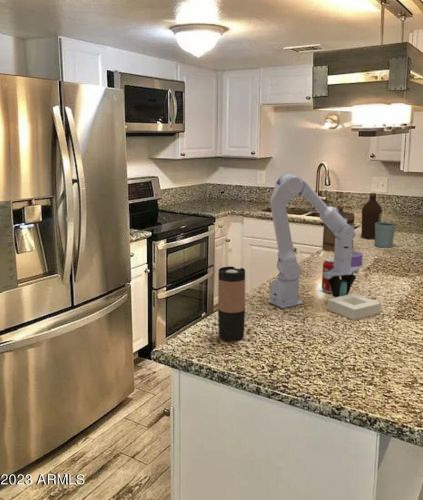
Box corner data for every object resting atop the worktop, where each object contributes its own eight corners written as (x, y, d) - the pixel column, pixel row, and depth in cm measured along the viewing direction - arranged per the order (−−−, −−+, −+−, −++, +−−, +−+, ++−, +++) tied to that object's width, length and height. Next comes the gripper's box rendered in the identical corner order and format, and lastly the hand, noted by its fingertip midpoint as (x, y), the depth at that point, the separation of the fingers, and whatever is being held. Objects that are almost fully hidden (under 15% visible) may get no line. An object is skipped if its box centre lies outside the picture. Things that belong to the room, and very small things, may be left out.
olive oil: (360, 239, 279) (363, 194, 273) (359, 235, 289) (362, 192, 283) (380, 240, 276) (383, 194, 271) (379, 236, 286) (382, 192, 281)
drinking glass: (370, 244, 265) (371, 222, 262) (387, 244, 267) (389, 221, 264) (379, 248, 255) (381, 225, 253) (397, 248, 257) (399, 225, 254)
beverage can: (326, 287, 191) (328, 257, 189) (341, 290, 187) (343, 259, 185) (318, 291, 186) (320, 260, 184) (334, 294, 183) (336, 262, 180)
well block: (354, 320, 158) (354, 309, 157) (326, 309, 168) (327, 299, 167) (380, 313, 164) (381, 303, 163) (352, 303, 174) (353, 293, 173)
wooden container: (358, 251, 250) (361, 207, 245) (331, 253, 246) (333, 208, 241) (343, 245, 264) (345, 203, 259) (317, 247, 260) (319, 204, 255)
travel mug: (222, 343, 141) (222, 274, 136) (214, 333, 148) (214, 267, 143) (248, 340, 143) (249, 272, 138) (239, 330, 150) (240, 265, 145)
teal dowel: (340, 303, 173) (341, 283, 172) (331, 300, 177) (332, 281, 175) (348, 301, 175) (349, 282, 174) (340, 298, 179) (341, 279, 177)
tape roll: (363, 267, 220) (364, 256, 219) (336, 266, 222) (336, 255, 221) (360, 261, 232) (360, 250, 230) (333, 260, 233) (334, 249, 232)
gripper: (335, 263, 166) (333, 302, 169) (366, 257, 173) (363, 295, 176) (320, 258, 171) (318, 296, 175) (351, 253, 179) (348, 290, 182)
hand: (340, 295), depth 176 cm, fingers closed on teal dowel, 4 cm apart
